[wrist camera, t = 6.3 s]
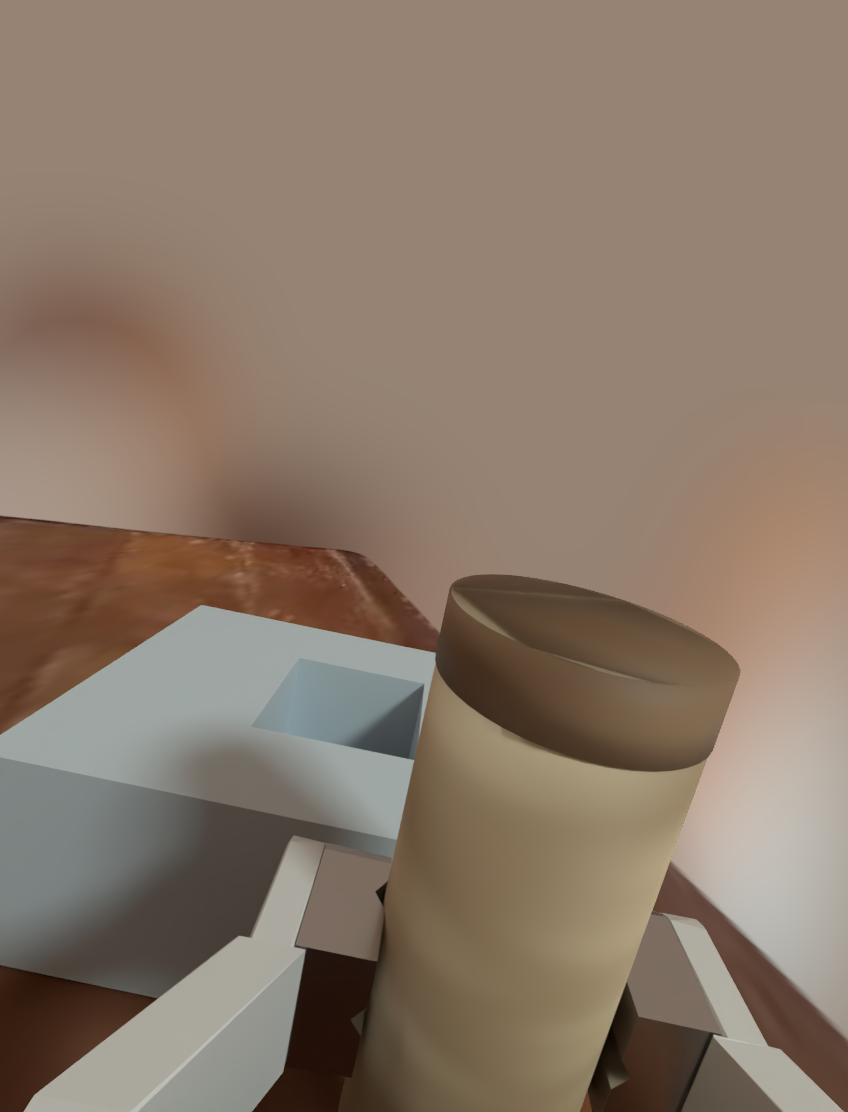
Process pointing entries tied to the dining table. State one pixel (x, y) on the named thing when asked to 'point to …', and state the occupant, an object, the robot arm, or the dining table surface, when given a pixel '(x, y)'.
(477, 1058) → the dowel pin
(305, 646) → the socket block
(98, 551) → the dining table surface
